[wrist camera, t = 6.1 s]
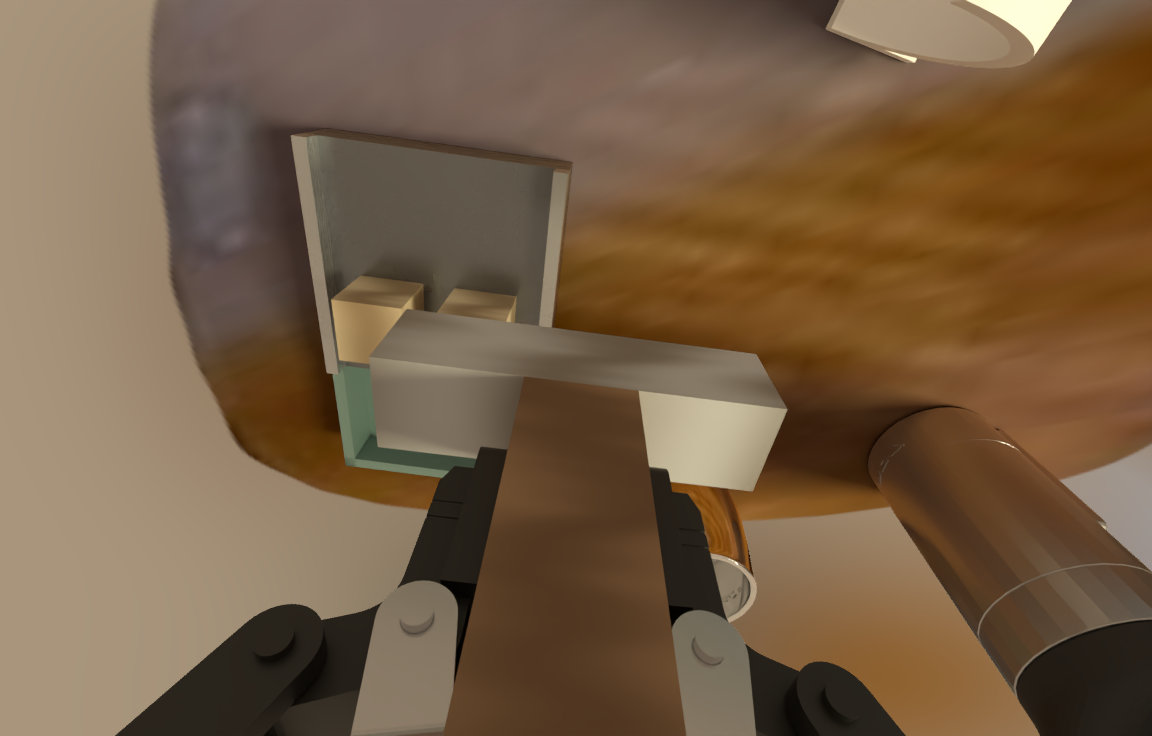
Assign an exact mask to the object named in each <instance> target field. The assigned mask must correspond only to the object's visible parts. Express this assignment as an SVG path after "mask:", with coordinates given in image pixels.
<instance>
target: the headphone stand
mask: <svg viewBox="0 0 1152 736" xmlns="http://www.w3.org/2000/svg"><path fill="white" fill-rule="evenodd" d="M1071 1H1072V0H839V2H838V4H837V6H836V8H835V10H834V12H833V14H832V16H831V18H830V20H829V23H828V25H827V27H826V29H825V30H828V31H830V32H833V33H835V34H838V35H840V36H842V37H845V38H847V39H850V40H852V41H855V42H857V43H859V44H862V45H864V46H867V47H869V48H872V49H874V50H876V51H879V52H881V53H884V54H886V55H889V56H891V57H893V58H896V59H898V60H901V61H903V62H906V63H915V61H916V59H917V58H919V59H923V60H928V61H933V62H939V63H944V64H951V65H958V66H966V67H977V68H1007V67H1015V66H1019V65H1022V64H1025V63H1027V62H1029V61H1030V60H1032V58H1033V57H1034V55H1035V54H1036V52H1037V51H1038V49H1039V48H1040V46H1041V45H1042V43H1043V42H1044V40H1045V39H1046V37H1047V36H1048V35H1049V33H1050V32H1051V30H1052V29H1053V27H1054V26H1055V24H1056V23H1057V21H1058V20H1059V18H1060V17H1061V15H1062V14H1063V12H1064V11H1065V9H1066V8H1067V6H1068V5H1069V3H1070V2H1071Z"/></svg>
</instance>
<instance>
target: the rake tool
mask: <svg viewBox="0 0 1152 736" xmlns="http://www.w3.org/2000/svg"><path fill="white" fill-rule="evenodd" d="M369 363H370V373H371V383H372V393H373V404H374V414H375V424H376V435H377V445H378V447H382V448H391V449H399V450H408V451H416V452H424V453H433V454H441V455H450V456H458V457H466V458H475V459H477V455H478V452H479V449H480V447H481V446H483V447H491V448H499V449H508V451H507V455H506V460H505V464H504V468H503V473H502V477H501V482H500V486H499V490H498V495H497V499H496V504H495V508H494V512H493V517H492V521H491V526H490V530H489V534H488V539H487V543H486V548H485V552H484V556H483V561H482V565H481V570H480V574H479V578H478V583H477V587H476V592H475V596H474V600H473V605H472V609H471V614H470V618H469V622H468V627H467V631H466V636H465V640H464V644H463V649H462V653H461V658H460V662H459V666H458V671H457V675H456V680H455V684H454V688H453V693H452V697H451V702H450V706H449V710H448V715H447V719H446V724H445V728H444V732H443V736H686V729H685V722H684V714H683V707H682V700H681V693H680V686H679V678H678V671H677V664H676V657H675V650H674V642H673V635H672V628H671V621H670V614H669V606H668V599H667V592H666V585H665V578H664V570H663V563H662V556H661V549H660V542H659V534H658V527H657V520H656V513H655V506H654V498H653V491H652V484H651V477H650V470H649V467H656V468H664V469H667V470H668V472H669V477H670V482H677V483H686V484H694V485H702V486H711V487H719V488H728V489H736V490H745V491H753V489H754V487H755V485H756V482H757V480H758V478H759V475H760V473H761V471H762V468H763V466H764V464H765V461H766V459H767V457H768V454H769V452H770V450H771V447H772V445H773V442H774V440H775V438H776V435H777V433H778V431H779V428H780V426H781V424H782V421H783V419H784V417H785V414H786V412H787V410H788V409H787V408H786V406H785V404H784V402H783V401H782V399H781V397H780V395H779V394H778V392H777V390H776V388H775V386H774V385H773V383H772V381H771V379H770V378H769V376H768V374H767V372H766V371H765V369H764V367H763V365H762V364H761V362H760V360H759V358H758V357H757V355H756V354H751V353H743V352H736V351H728V350H720V349H712V348H705V347H697V346H689V345H682V344H674V343H666V342H658V341H651V340H643V339H635V338H628V337H620V336H612V335H605V334H597V333H589V332H581V331H574V330H566V329H558V328H551V327H543V326H535V325H527V324H520V323H512V322H504V321H497V320H489V319H481V318H474V317H466V316H458V315H450V314H443V313H435V312H427V311H420V310H412V309H406V310H405V312H404V313H403V314H402V315H401V317H400V318H399V319H398V320H397V322H396V323H395V324H394V326H393V327H392V328H391V329H390V331H389V332H388V333H387V334H386V336H385V337H384V338H383V340H382V341H381V342H380V343H379V345H378V346H377V347H376V348H375V350H374V351H373V352H372V354H371V355H370V356H369Z"/></svg>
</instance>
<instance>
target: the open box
mask: <svg viewBox="0 0 1152 736" xmlns="http://www.w3.org/2000/svg"><path fill="white" fill-rule="evenodd" d="M291 141H292V148H293V154H294V161H295V168H296V174H297V181H298V187H299V194H300V200H301V207H302V214H303V220H304V227H305V233H306V240H307V246H308V253H309V260H310V266H311V273H312V279H313V286H314V292H315V299H316V306H317V312H318V319H319V325H320V332H321V338H322V345H323V352H324V358H325V365H326V371H327V373H330V374H337V375H339V373H340V372H341V371H342V370H343V369H344V368H345V367H346V366H350V367H358V368H366V369H370V364H365V363H357V362H350V361H342V360H339V354H338V347H337V339H336V332H335V325H334V317H333V310H332V302H331V299H332V298H334V297H335V296H336V295H337V294H339V293H340V292H341V291H342V290H343V289H345V288H346V287H347V286H348V285H350V284H351V283H352V282H353V281H355V280H356V279H357V278H358V277H360V276H369V277H376V278H384V279H391V280H398V281H406V282H413V283H421V284H423V290H424V311H427V312H435V313H437V312H438V310H439V309H440V307H441V306H442V305H443V303H444V302H445V300H446V299H447V298H448V296H449V295H450V293H451V292H452V291H453V289H454V288H458V289H465V290H473V291H480V292H488V293H495V294H502V295H510V296H516V311H515V323H520V324H527V325H535V326H543V327H551V328H554V324H555V315H556V306H557V297H558V288H559V279H560V271H561V262H562V253H563V244H564V235H565V226H566V217H567V208H568V199H569V190H570V181H571V172H572V163H573V162H566V161H558V160H551V159H544V158H537V157H530V156H523V155H515V154H508V153H501V152H494V151H487V150H480V149H472V148H465V147H458V146H451V145H444V144H437V143H429V142H422V141H415V140H408V139H401V138H394V137H386V136H379V135H372V134H365V133H358V132H351V131H343V130H336V129H329V128H327V129H322V130H317V131H311V132H306V133H300V134H295V135H291Z"/></svg>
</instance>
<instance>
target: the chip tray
mask: <svg viewBox="0 0 1152 736" xmlns="http://www.w3.org/2000/svg"><path fill="white" fill-rule="evenodd" d="M333 381H334V388H335V395H336V402H337V408H338V415H339V422H340V429H341V436H342V443H343V450H344V457H345V463H346V466H354V467H362V468H370V469H378V470H386V471H393V472H401V473H409V474H417V475H425V476H432V477H440V478H443V477H444V476H445V475H446V474H447V473H448V472H449V471H450V470H451V469H452V468H453V467H454V466H460V467H469V468H474V465H475V462H476V459H475V458H466V457H458V456H450V455H441V454H433V453H424V452H416V451H408V450H399V449H391V448H382V447H378V445H377V435H376V424H375V414H374V404H373V393H372V383H371V373H370V369H366V368H358V367H350V366H346V367H345V368H344V369H343V370H342V371H341V372H340V373H339V375H337V374H333Z"/></svg>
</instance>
